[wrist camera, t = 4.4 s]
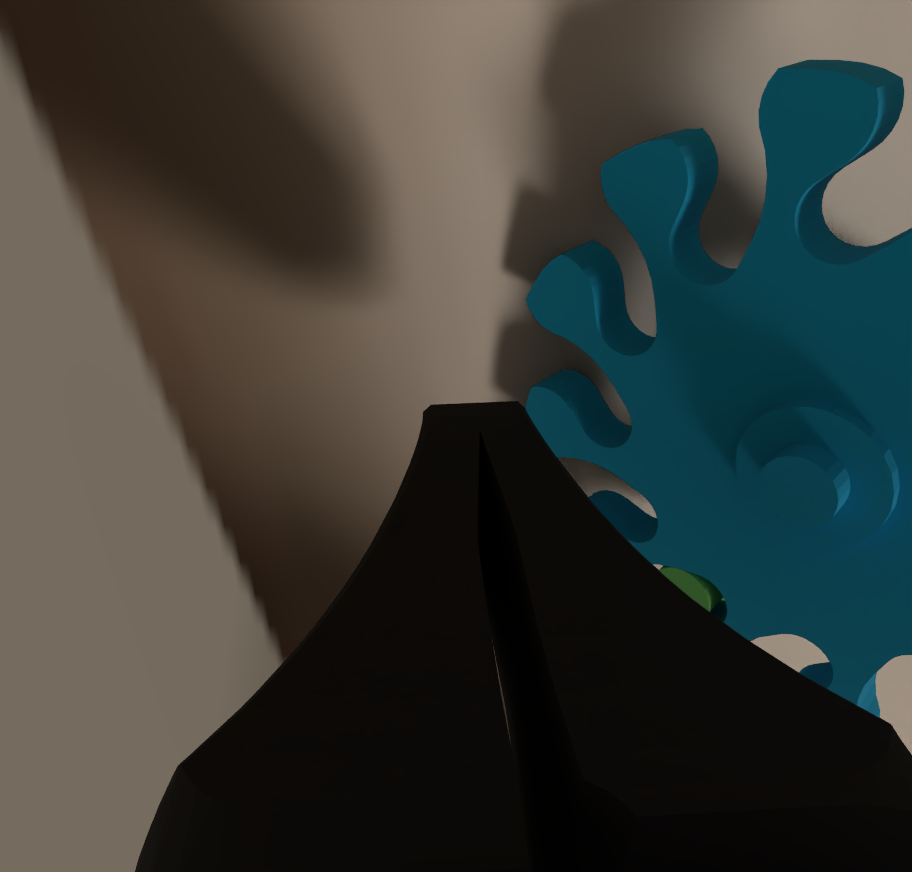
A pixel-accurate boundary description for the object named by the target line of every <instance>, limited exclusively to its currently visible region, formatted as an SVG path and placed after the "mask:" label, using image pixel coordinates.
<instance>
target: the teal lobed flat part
mask: <svg viewBox="0 0 912 872" xmlns="http://www.w3.org/2000/svg"><path fill="white" fill-rule="evenodd" d="M903 99H904V86H903V79H902V78H901V77H899V76H897V75H895V74H894V73H892V72H890V71H888V70H886V69H884V68H881V67H877V66H873V65H870V64H866V63H861V62H852V61H843V60H806V61H802V62H799V63H795V64H792V65H789V66H785V67H782V68H778V70H777V71H776V72H775V74H774V75H773V76H772V78H771V79H770V80H769V82H768V84H767V86H766V88H765V90H764V93H763V95H762V98H761V103H760V108H759V128H760V132H761V136H762V140H763V144H764V148H765V155H766V167H767V183H766V196H765V202H764V206H763V210H762V215H761V219H760V222H759V225H758V227H757V229H756V232H755V234H754V237H753V239H752V241H751V243H750V245H749V247H748V249H747V251H746V253H745V255H744V257H743V259H742V260H741V262H740V264H739V266H738V268H737V269H733V268H727V267H724V266H721V265H719V264H717V263H716V262H714V261H713V260H712V259H711V258H710V257H709V256H708V255H707V254H706V252H705V251H704V249H703V247H702V245H701V242H700V238H699V231H698V230H699V221H700V218H701V215H702V213H703V210H704V208H705V206H706V204H707V202H708V200H709V198H710V195H711V193H712V191H713V189H714V186H715V183H716V180H717V174H718V157H717V153H716V150H715V146H714V144H713V142H712V141H711V139H710V137H709V135H708V134H707V133H706V132H705V131H704V130H703V128H698V129H685V130H681V131H677V132H674V133H670V134H667V135H664V136H661V137H658V138H655V139H652V140H649V141H646V142H644V143H641V144H638V145H636V146H634V147H631V148H629V149H627V150H625V151H623V152H621V153H619V154H618V155H616V156H614V157H613V158H611V159H609V160H607V161H606V162H604V163H602V169H601V182H602V190H603V193H604V196H605V199H606V201H607V203H608V204H609V206H610V208H611V209H612V211H613V212H614V213H615V214H616V215H617V217H618V218H619V219H620V220H621V221H622V222H623V223H624V224H625V225H626V227H627V228H628V230H629V231H630V233H631V234H632V236H633V237H634V239H635V240H636V242H637V244H638V246H639V248H640V250H641V252H642V254H643V256H644V258H645V260H646V263H647V267H648V270H649V273H650V276H651V280H652V285H653V292H654V298H655V309H656V321H657V334H656V337H655V338H654V337H651V336H648V335H646V334H644V333H642V332H641V331H640V330H639V329H638V328H636V327H635V326H634V324H633V323H632V321H631V320H630V318H629V315H628V313H627V309H626V304H625V294H624V283H623V277H622V272H621V269H620V267H619V264H618V262H617V261H616V259H615V258H614V256H613V255H612V254H611V253H610V251H609V250H608V249H607V248H605V247H604V246H602V245H601V244H600V243H597V242H595V241H590V242H587V243H585V244H583V245H581V246H578V247H576V248H574V249H572V250H569V251H567V252H565V253H563V254H561V255H559V256H558V257H556V258H555V259H553V260H552V261H550V263H549V264H548V265H547V266H546V267H545V268H544V269H543V270H542V272H541V273H540V275H539V276H538V278H537V279H536V281H535V282H534V284H533V286H532V288H531V290H530V292H529V294H528V296H527V298H526V301H527V304H528V307H529V309H530V311H531V313H532V314H533V316H534V318H535V319H536V320H537V321H538V322H539V323H540V324H541V326H543V327H544V328H546V329H547V330H548V331H550V332H552V333H554V334H557V335H559V336H561V337H564V338H565V339H567V340H569V341H570V342H572V343H573V344H575V345H577V346H578V347H579V348H581V349H582V350H583V351H584V352H585V353H586V354H588V355H589V356H590V357H591V358H592V359H593V360H594V361H595V362H596V363H597V364H598V366H599V367H600V368H601V369H602V370H603V371H604V373H605V374H606V375H607V377H608V378H609V380H610V381H611V383H612V384H613V386H614V387H615V389H616V391H617V392H618V394H619V396H620V397H621V399H622V401H623V402H624V404H625V406H626V408H627V410H628V412H629V414H630V417H631V422H632V427H631V426H628V425H625V424H624V423H622V422H621V421H619V420H618V419H617V418H616V417H615V416H614V415H613V413H612V412H611V411H610V409H609V408H608V406H607V404H606V402H605V401H604V399H603V397H602V396H601V394H600V392H599V391H598V389H597V388H596V387H595V385H594V384H593V383H592V382H591V381H590V380H589V379H588V378H587V377H585V376H584V375H582V374H581V373H579V372H576V371H573V370H568V369H566V370H560V371H558V372H556V373H555V374H553V375H551V376H550V377H548V378H546V379H545V380H543V381H541V382H540V383H538V384H536V385H535V386H533V387H532V388H531V391H530V393H529V395H528V398H527V403H526V408H525V409H526V411H527V413H528V415H529V416H530V418H531V420H532V421H533V423H534V425H535V426H536V428H537V429H538V431H539V432H540V434H541V435H542V437H543V438H544V440H545V441H546V443H547V444H548V446H549V447H550V448H551V450H552V451H553V453H554V454H555V455H556V457H557V458H562V457H569V458H575V459H581V460H584V461H587V462H591V463H594V464H596V465H598V466H600V467H602V468H604V469H606V470H608V471H610V472H611V473H613V474H614V475H616V476H617V477H619V478H620V479H622V480H623V481H625V482H626V483H627V484H629V485H630V486H631V487H632V488H634V489H635V490H636V491H638V492H639V493H640V494H642V495H643V496H644V497H645V498H646V499H647V500H648V501H649V503H650V504H651V505H652V507H653V509H654V511H655V513H656V516H657V518H654V517H652V516H650V515H648V514H647V513H645V512H644V511H643V510H641V509H640V508H639V507H637V506H636V505H635V504H634V503H632V502H631V501H630V500H628V499H627V498H625V497H624V496H622V495H621V494H618V493H616V492H613V491H608V490H605V491H598V492H595V493H594V494H592V495H591V496H590V497H588V498H589V499H590V500H591V501H592V502H593V503H594V505H595V506H596V507H597V508H598V509H599V510H600V511H601V513H602V514H603V515H604V516H605V517H606V518H607V519H608V520H609V521H610V522H611V523H612V525H613V526H614V527H615V528H616V529H617V530H618V531H619V532H620V533H621V534H622V535H623V536H624V537H625V538H626V539H627V540H628V541H629V542H630V543H631V544H632V545H633V546H634V547H635V548H636V549H637V550H638V551H639V552H640V553H641V554H642V555H643V556H644V557H645V558H646V559H647V560H648V561H649V562H650V563H651V564H660V565H664V566H663V567H662V568H661V569H660V570H659V571H660V572H661V573H662V574H663V575H665V576H666V577H667V578H668V579H669V580H670V581H671V582H673V583H674V584H675V585H676V586H677V587H679V588H680V589H681V590H682V591H683V592H685V593H686V594H687V595H688V596H689V597H690V598H692V599H693V600H694V601H696V602H697V603H698V604H700V605H701V606H702V607H704V608H705V609H706V610H708V611H709V612H710V613H712V614H713V615H715V616H716V617H717V618H719V619H720V620H721V621H723V622H724V623H725V624H727V625H728V626H729V627H731V628H732V629H733V630H735V631H736V632H737V633H739V634H740V635H742V636H743V637H745V638H746V639H747V640H749V641H752V640H754V639H756V638H758V637H764V636H770V635H777V634H793V635H797V636H800V637H803V638H805V639H807V640H808V641H810V642H812V643H813V644H815V645H816V646H817V647H818V648H820V649H821V650H822V652H823V653H824V654H825V655H826V656H827V658H828V660H829V661H830V662H827V663H818V664H813V665H809V666H807V667H805V668H803V669H802V670H801V671H800V672H799V673H800V674H802V675H803V676H805V677H807V678H808V679H810V680H812V681H814V682H816V683H817V684H819V685H821V686H823V687H825V688H827V689H828V690H830V691H832V692H834V693H836V694H837V695H839V696H841V697H843V698H845V699H846V700H848V701H850V702H852V703H854V704H855V705H857V706H859V707H861V708H863V709H865V710H866V711H868V712H870V713H872V714H874V715H875V716H877V717H879V718H880V709H879V705H878V701H877V697H876V685H875V679H876V674H877V671H878V670H879V669H880V668H882V667H883V666H884V665H885V664H886V663H887V662H888V661H889V660H891V659H893V658H894V657H897V656H901V655H912V228H911V229H909V230H907V231H905V232H903V233H901V234H899V235H897V236H895V237H894V238H892V239H890V240H888V241H886V242H883V243H881V244H878V245H874V246H868V247H862V246H854V245H851V244H848V243H845V242H843V241H842V240H840V239H838V238H837V237H836V236H835V235H834V234H833V233H832V232H831V231H830V230H829V228H828V227H827V225H826V223H825V221H824V217H823V214H822V198H823V194H824V191H825V189H826V187H827V184H828V183H829V181H830V180H831V179H832V178H833V176H834V175H835V174H836V173H838V172H839V171H840V170H841V169H843V168H844V167H845V166H847V165H849V164H850V163H852V162H853V161H855V160H857V159H858V158H860V157H861V156H863V155H865V154H866V153H868V152H869V151H871V150H872V149H874V148H875V147H876V146H878V145H879V144H880V143H881V142H883V141H884V139H885V138H886V137H887V136H888V135H889V134H890V132H891V131H892V130H893V128H894V126H895V124H896V123H897V121H898V119H899V116H900V113H901V110H902V107H903Z"/></svg>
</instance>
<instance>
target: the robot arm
mask: <svg viewBox="0 0 912 872" xmlns="http://www.w3.org/2000/svg"><path fill="white" fill-rule="evenodd" d="M491 636H492V637H491ZM492 641H493V643H492ZM493 646H494V649H493ZM494 651H495V655H494ZM495 657H496V661H495ZM496 662H497V667H498V672H499V677H500V682H501V687H502V692H503V697H504V702H505V707H506V713H507V720H508V726H509V733H510V740H511V745H510V740H509V734H508V729H507V724H506V718H505V713H504V708H503V702H502V697H501V691H500V685H499V679H498V673H497V667H496ZM135 872H912V755H911V753H910V752H909V750H908V749H907V748H906V746H905V745H904V743H903V742H902V741H901V739H900V738H899V736H898V735H897V733H896V731H895V730H894V728H893V726H892V725H891V724H890V723H888V722H886V721H884V720H883V719H881V718H879V717H877V716H875V715H874V714H872V713H870V712H868V711H866V710H865V709H863V708H861V707H859V706H857V705H855V704H854V703H852V702H850V701H848V700H846V699H845V698H843V697H841V696H839V695H837V694H836V693H834V692H832V691H830V690H828V689H827V688H825V687H823V686H821V685H819V684H817V683H816V682H814V681H812V680H810V679H808V678H807V677H805V676H803V675H802V674H800V673H798V672H797V671H795V670H794V669H792V668H791V667H789V666H787V665H786V664H784V663H783V662H781V661H780V660H778V659H777V658H775V657H773V656H772V655H770V654H769V653H767V652H766V651H764V650H762V649H761V648H759V647H758V646H756V645H755V644H753V643H752V642H750V641H749V640H747V639H746V638H745V637H743V636H742V635H740V634H739V633H737V632H736V631H735V630H733V629H732V628H731V627H729V626H728V625H727V624H725V623H724V622H723V621H721V620H720V619H719V618H717V617H716V616H715V615H713V614H712V613H710V612H709V611H708V610H706V609H705V608H704V607H702V606H701V605H700V604H698V603H697V602H696V601H694V600H693V599H692V598H690V597H689V596H688V595H687V594H686V593H685V592H683V591H682V590H681V589H680V588H679V587H677V586H676V585H675V584H674V583H673V582H671V581H670V580H669V579H668V578H667V577H666V576H665V575H663V574H662V573H661V572H660V571H659V570H658V569H657V568H656V567H655V566H654V565H653V564H651V563H650V562H649V561H648V560H647V559H646V558H645V557H644V556H643V555H642V554H641V553H640V552H639V551H638V550H637V549H636V548H635V547H634V546H633V545H632V544H631V543H630V542H629V541H628V540H627V539H626V538H625V537H624V536H623V535H622V534H621V533H620V532H619V531H618V530H617V529H616V528H615V527H614V526H613V525H612V523H611V522H610V521H609V520H608V519H607V518H606V517H605V516H604V515H603V514H602V513H601V511H600V510H599V509H598V508H597V507H596V506H595V505H594V503H593V502H592V501H591V500H590V499H589V498H588V496H587V495H586V494H585V493H584V491H583V490H582V489H581V488H580V486H579V485H578V484H577V483H576V481H575V480H574V479H573V478H572V476H571V475H570V474H569V473H568V471H567V470H566V469H565V468H564V466H563V465H562V464H561V462H560V461H559V460H558V458H557V457H556V455H555V454H554V453H553V451H552V450H551V448H550V447H549V446H548V444H547V443H546V441H545V440H544V438H543V437H542V435H541V434H540V432H539V431H538V429H537V428H536V426H535V425H534V423H533V421H532V420H531V418H530V416H529V415H528V413H527V411H526V409H525V408H524V407H523V406H522V405H521V404H520V403H519V402H518V401H510V402H486V403H462V404H438V405H430V406H429V407H428V408H427V409H426V410H425V411H424V412H423V421H422V426H421V431H420V435H419V438H418V442H417V445H416V448H415V451H414V454H413V457H412V459H411V462H410V465H409V467H408V470H407V472H406V474H405V477H404V479H403V481H402V484H401V486H400V488H399V491H398V493H397V495H396V497H395V499H394V502H393V504H392V506H391V508H390V509H389V511H388V513H387V515H386V517H385V519H384V521H383V523H382V525H381V526H380V528H379V530H378V532H377V534H376V536H375V538H374V540H373V541H372V543H371V545H370V547H369V548H368V550H367V552H366V553H365V555H364V557H363V558H362V560H361V561H360V563H359V565H358V566H357V568H356V569H355V571H354V572H353V574H352V575H351V577H350V578H349V580H348V581H347V583H346V584H345V586H344V587H343V589H342V590H341V592H340V593H339V594H338V596H337V597H336V598H335V600H334V601H333V602H332V604H331V605H330V606H329V608H328V609H327V610H326V612H325V613H324V614H323V616H322V617H321V618H320V620H319V621H318V622H317V624H316V625H315V626H314V628H313V629H312V630H311V631H310V632H309V634H308V635H307V636H306V637H305V639H304V640H303V641H302V642H301V643H300V645H299V646H298V647H297V648H296V649H295V650H294V651H293V653H292V654H291V655H290V656H289V657H288V658H287V659H286V660H285V661H284V662H283V663H282V665H281V666H280V667H279V668H278V669H277V670H276V671H275V672H274V673H273V674H272V676H271V677H270V678H269V679H268V680H267V681H266V682H265V683H264V684H263V685H262V686H261V688H260V689H259V690H258V691H257V692H256V693H255V694H254V695H253V696H252V697H251V698H250V699H249V700H248V701H247V702H246V703H245V704H244V705H243V706H242V707H241V708H240V709H239V710H238V711H237V712H236V713H235V714H234V715H233V716H232V717H230V718H229V719H228V720H227V721H226V722H225V723H224V724H223V725H222V726H221V727H220V728H219V729H218V730H216V731H215V732H214V733H213V734H212V735H211V736H210V737H209V738H208V739H207V740H206V741H205V742H203V743H202V744H201V745H200V746H199V747H198V748H197V749H196V750H195V751H194V752H193V753H192V754H191V755H189V756H188V757H187V758H186V759H185V760H184V761H183V762H181V763H180V764H179V765H178V767H177V769H176V771H175V772H174V774H173V776H172V779H171V781H170V783H169V785H168V787H167V789H166V792H165V794H164V796H163V798H162V800H161V802H160V804H159V807H158V809H157V812H156V814H155V817H154V820H153V822H152V824H151V827H150V829H149V832H148V835H147V837H146V840H145V843H144V845H143V848H142V851H141V853H140V856H139V859H138V863H137V866H136V870H135Z"/></svg>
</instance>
